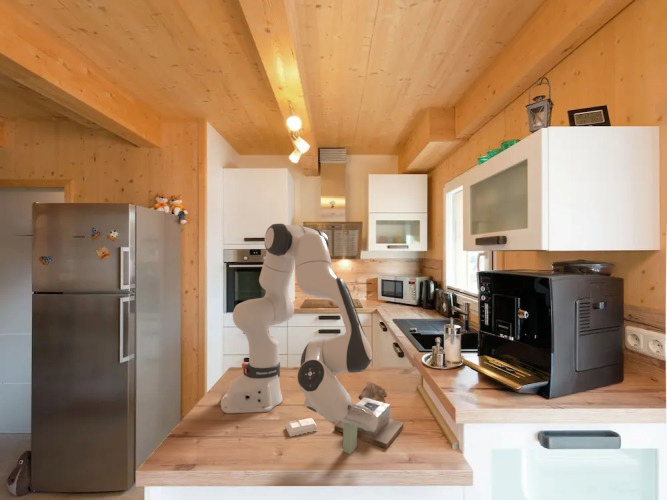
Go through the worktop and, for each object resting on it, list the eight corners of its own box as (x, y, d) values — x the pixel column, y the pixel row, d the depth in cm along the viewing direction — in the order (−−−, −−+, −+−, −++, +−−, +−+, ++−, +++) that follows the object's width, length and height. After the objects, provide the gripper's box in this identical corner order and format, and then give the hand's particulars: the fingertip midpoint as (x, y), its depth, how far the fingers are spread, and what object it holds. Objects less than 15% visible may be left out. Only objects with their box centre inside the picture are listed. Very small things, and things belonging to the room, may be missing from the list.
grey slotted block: (389, 421, 111) (389, 404, 111) (375, 436, 102) (375, 418, 102) (364, 412, 116) (364, 397, 116) (348, 427, 107) (348, 410, 107)
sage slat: (356, 446, 99) (357, 406, 99) (350, 454, 96) (351, 412, 95) (349, 444, 100) (350, 404, 100) (342, 451, 97) (343, 409, 97)
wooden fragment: (387, 413, 120) (387, 410, 120) (357, 410, 121) (357, 407, 121) (386, 384, 145) (386, 381, 145) (360, 382, 147) (360, 379, 147)
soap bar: (317, 432, 107) (317, 424, 107) (290, 437, 104) (290, 429, 104) (312, 424, 112) (312, 416, 111) (286, 429, 108) (286, 421, 108)
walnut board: (403, 427, 110) (403, 422, 110) (386, 448, 98) (386, 443, 98) (355, 411, 120) (355, 407, 120) (334, 429, 108) (334, 425, 108)
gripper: (373, 400, 86) (387, 421, 94) (308, 382, 97) (326, 402, 105) (364, 425, 82) (380, 445, 91) (298, 403, 93) (317, 422, 101)
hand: (350, 422), depth 98 cm, fingers open, 8 cm apart
